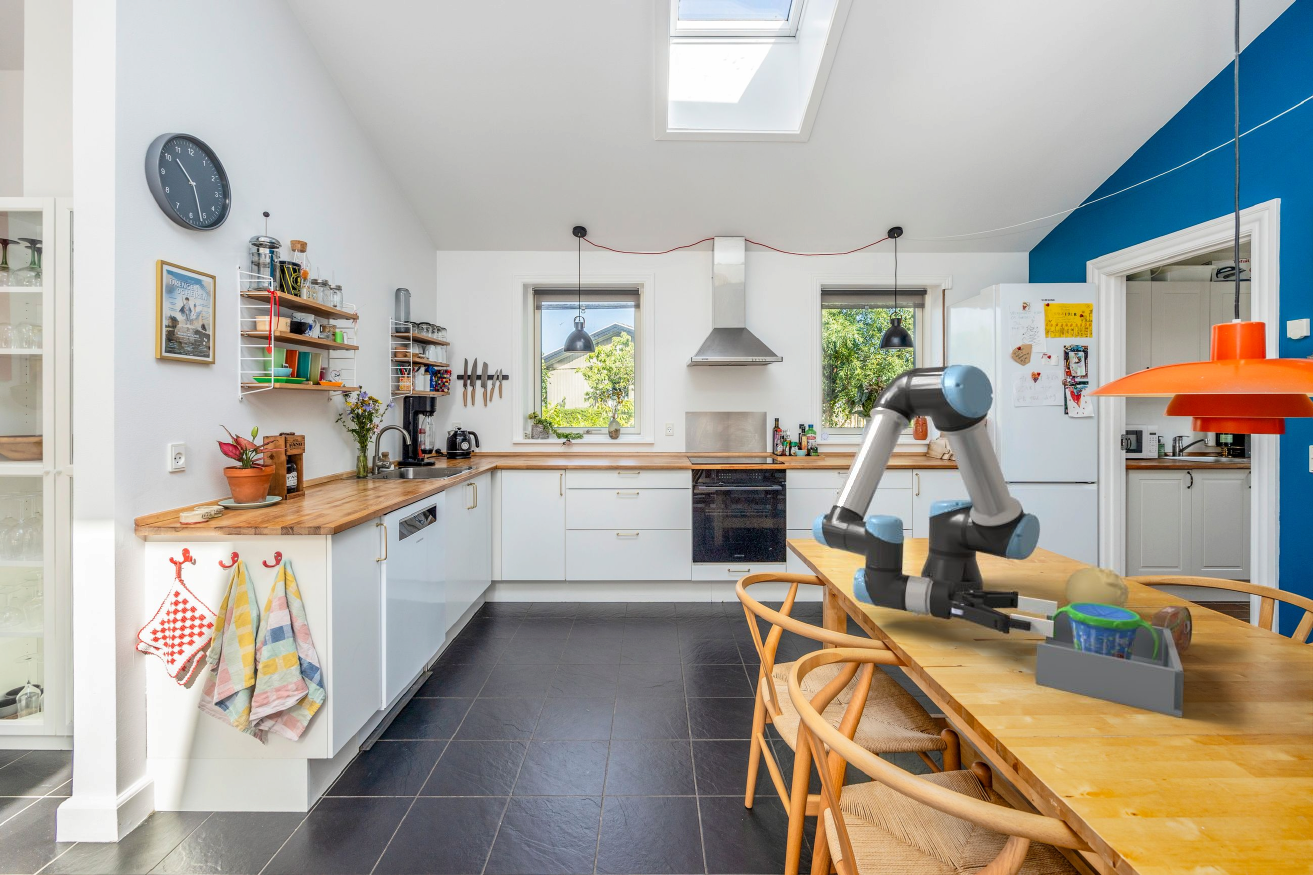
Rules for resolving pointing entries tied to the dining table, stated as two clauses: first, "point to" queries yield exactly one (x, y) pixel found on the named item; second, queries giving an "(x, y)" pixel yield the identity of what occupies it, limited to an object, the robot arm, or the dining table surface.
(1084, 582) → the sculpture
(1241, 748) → the dining table surface
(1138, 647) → the bin
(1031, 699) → the dining table surface
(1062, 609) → the snack cup
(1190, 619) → the tin
